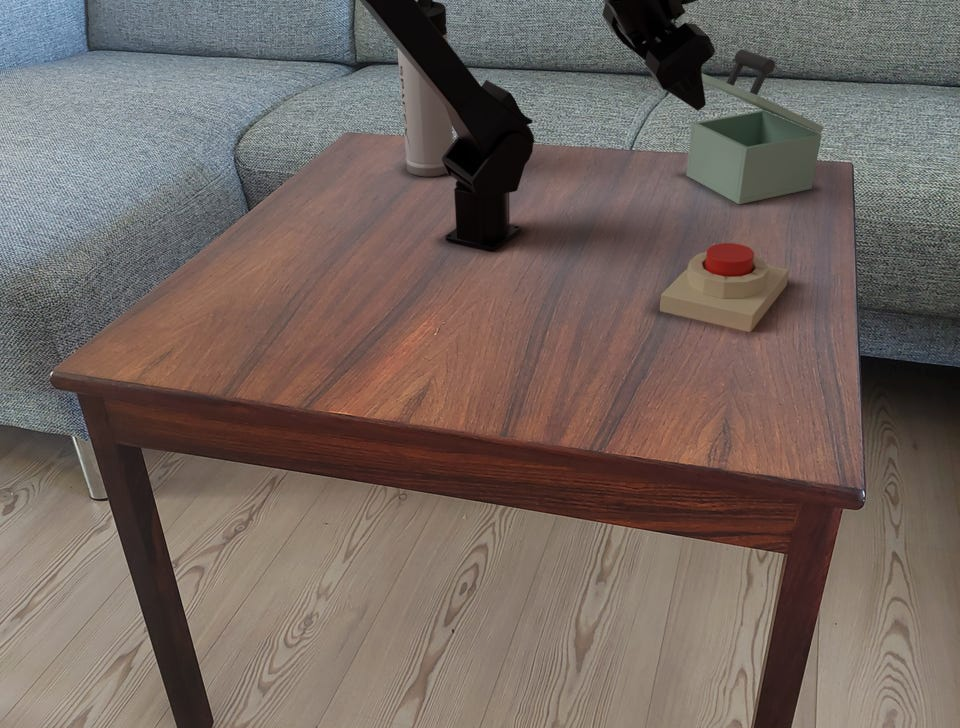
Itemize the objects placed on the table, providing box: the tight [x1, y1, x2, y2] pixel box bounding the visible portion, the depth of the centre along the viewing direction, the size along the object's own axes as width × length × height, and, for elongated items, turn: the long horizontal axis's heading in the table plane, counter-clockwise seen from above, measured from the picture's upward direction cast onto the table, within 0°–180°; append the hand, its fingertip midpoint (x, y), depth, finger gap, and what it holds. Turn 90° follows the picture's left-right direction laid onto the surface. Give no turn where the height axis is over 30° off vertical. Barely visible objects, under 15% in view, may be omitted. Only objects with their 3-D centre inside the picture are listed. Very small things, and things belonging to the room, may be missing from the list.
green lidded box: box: [685, 109, 823, 205], centre depth 114 cm, size 11×11×7 cm
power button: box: [705, 242, 755, 277], centre depth 89 cm, size 4×4×2 cm
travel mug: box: [396, 0, 454, 178], centre depth 118 cm, size 6×7×20 cm
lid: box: [702, 48, 825, 134], centre depth 110 cm, size 11×11×5 cm
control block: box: [659, 251, 790, 333], centre depth 90 cm, size 11×9×4 cm
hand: (685, 90), depth 106 cm, fingers open, 9 cm apart
